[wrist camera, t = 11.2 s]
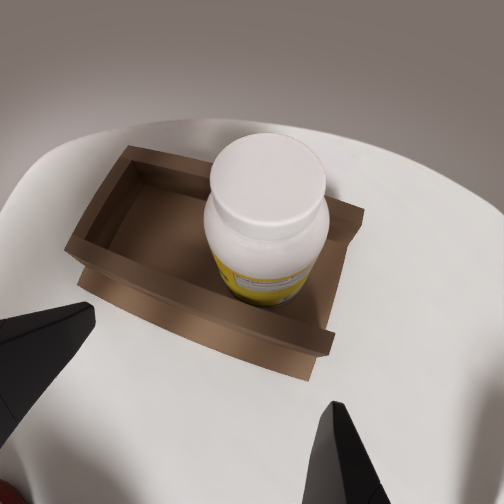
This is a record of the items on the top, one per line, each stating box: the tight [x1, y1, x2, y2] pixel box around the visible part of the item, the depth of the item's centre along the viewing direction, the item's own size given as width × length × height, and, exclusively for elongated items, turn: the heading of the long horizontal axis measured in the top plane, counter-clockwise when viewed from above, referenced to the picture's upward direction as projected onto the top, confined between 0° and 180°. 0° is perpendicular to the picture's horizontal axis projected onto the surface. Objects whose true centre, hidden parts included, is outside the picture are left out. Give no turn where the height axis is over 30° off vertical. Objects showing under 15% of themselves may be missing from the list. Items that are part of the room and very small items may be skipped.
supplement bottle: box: [204, 133, 329, 308], centre depth 14 cm, size 5×5×10 cm
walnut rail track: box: [64, 145, 364, 381], centre depth 18 cm, size 17×12×4 cm
